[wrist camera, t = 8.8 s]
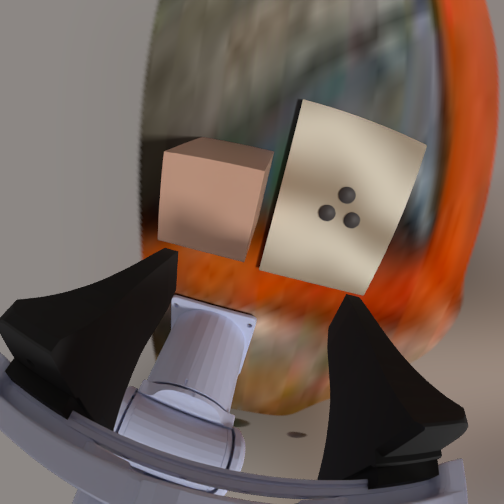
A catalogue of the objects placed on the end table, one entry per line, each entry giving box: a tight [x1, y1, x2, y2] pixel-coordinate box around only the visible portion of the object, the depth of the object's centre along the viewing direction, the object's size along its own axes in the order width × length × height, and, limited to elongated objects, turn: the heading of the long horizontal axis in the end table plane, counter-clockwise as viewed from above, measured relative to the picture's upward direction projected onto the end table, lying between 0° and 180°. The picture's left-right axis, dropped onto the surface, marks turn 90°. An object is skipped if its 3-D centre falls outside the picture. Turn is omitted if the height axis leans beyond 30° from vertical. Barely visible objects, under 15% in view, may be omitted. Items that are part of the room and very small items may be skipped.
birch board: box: [259, 100, 427, 295], centre depth 18 cm, size 13×9×1 cm
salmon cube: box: [158, 137, 274, 262], centre depth 16 cm, size 5×5×6 cm
